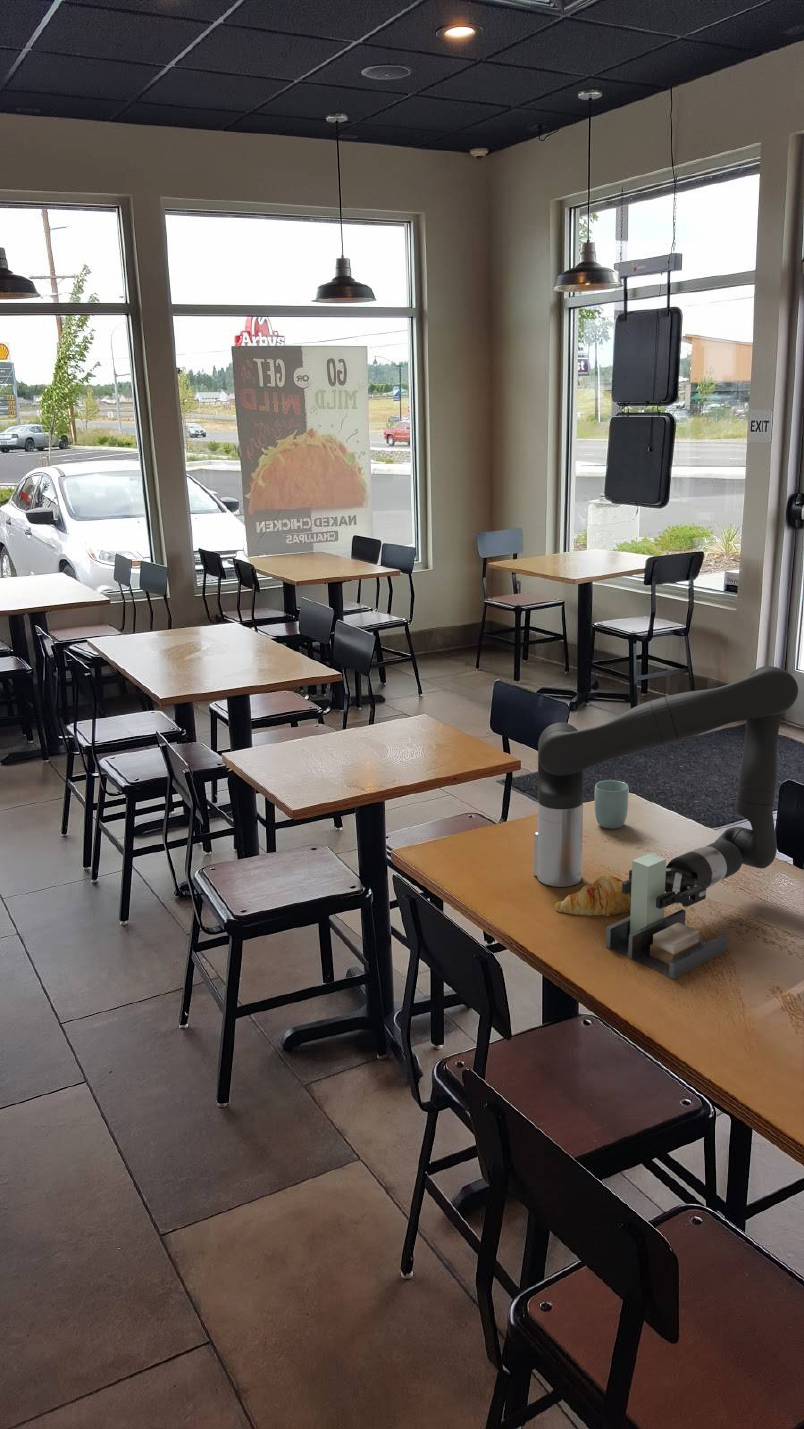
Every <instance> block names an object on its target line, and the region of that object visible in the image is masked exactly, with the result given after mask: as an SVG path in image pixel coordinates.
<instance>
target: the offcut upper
mask: <svg viewBox="0 0 804 1429" xmlns="http://www.w3.org/2000/svg"><path fill="white" fill-rule="evenodd" d="M699 939H700V931H699V930H697V929H694V928H692V927H690V926H687V925H686V924H685V925H683V924H681V923H676V924H674V925H672V926H670V927H668V928H666V929H664V930H662V931H660V932H658V933H656V934H654V935H653V945H655V946H657V947H659V948H661V949H663V950H666V951H668V952H670V953H672V954H675V953H677V952H679V951H681V950H683V949H685V948H687V947H689V946H691V945H693V944H695V943H697V942H699Z"/></svg>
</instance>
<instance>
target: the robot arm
mask: <svg viewBox="0 0 804 1429" xmlns="http://www.w3.org/2000/svg"><path fill="white" fill-rule="evenodd" d="M798 695H799V685H798V683H797V680H796V679H795V677H794V676H793V675H792V674H791V673H789V672H788V671H786V670H785V669H783V668H781V667H777V666H772V665H764V666H761V667H758V668H756V669H755V670H753V671H752V672H751V673H750V674H749V675H748V676H747V677H744V678H742V679H740V680H737V681H734V682H731V683H728V684H726V685H723V686H719V687H714V688H708V689H700V690H691V691H684V692H681V693H680V692H679V693H675V694H671V695H665V696H662V697H659V698H656V699H652V700H649V701H646V702H643V703H640V704H637V705H636V706H634V707H632V708H630V709H628V710H626V711H625V712H623V713H621V714H619V715H618V716H616V717H615V718H613V719H611V720H609V721H607V722H605V723H603V724H600V725H597V726H593V727H589V728H584V729H580V730H578V729H577V728H576V727H575V726H574V725H572V724H570V723H567V722H555V723H552V724H550V725H548V726H547V727H545V728H544V729H543V730H542V732H541V734H540V736H539V739H538V743H537V746H538V747H537V748H538V749H537V769H538V770H537V832H535V833H534V834H533V876H535V877H537V879H538V881H539V882H541V883H542V884H544V885H547V886H549V887H550V886H551V887H556V888H557V887H558V888H564V887H565V888H566V887H572V886H575V885H576V884H579V883H580V882H581V880H582V869H583V868H582V866H583V864H582V862H583V828H584V827H583V824H584V822H583V820H584V819H583V818H584V816H583V815H584V812H583V811H584V770H586V769H588V768H591V767H595V766H596V765H598V764H601V763H604V762H607V761H609V760H612V759H616V758H619V757H623V756H628V755H633V754H635V753H638V752H643V751H647V750H651V749H654V748H655V749H656V748H659V747H663V746H666V745H671V744H673V743H677V742H680V741H683V740H687V739H690V738H693V737H696V736H699V735H701V734H705V733H708V732H709V731H713V730H715V729H717V728H720V727H723V726H725V725H729V724H732V723H736V722H740V721H741V722H742V721H745V735H744V736H745V737H744V745H743V753H742V758H741V763H740V764H741V766H740V771H739V778H738V785H737V790H736V791H737V792H736V799H735V812H736V814H738V815H739V816H741V817H742V818H744V819H746V820H747V821H749V823H750V826H751V828H746V827H742V826H734V827H729V828H727V829H726V830H724V831H723V833H721V835H719V837H718V838H716V840H715V841H714V842H711V843H710V844H708V845H705V846H702V847H698V848H695V849H693V850H690V851H688V852H685V853H684V854H681V855H678V856H676V857H674V858H672V859H671V860H670V861H669V862H668V864H666V876H665V893H664V894H662V895H660V896H658V897H657V898H656V908H659V909H661V908H664V909H665V908H667V907H669V906H671V905H679V904H681V906H682V907H685V908H688V907H690V906H693V905H694V904H697V903H699V902H702V901H703V900H705V899H707V889H708V888H711V887H713V886H715V885H717V884H718V883H719V882H720V881H722V880H724V879H727V878H729V877H731V876H734V874H736V873H737V872H738V871H740V869H741V867H742V865H745V866H749V867H752V868H754V869H766V868H767V867H768V868H769V866H770V865H772V863H773V862H774V860H775V858H776V855H777V851H778V850H777V849H778V844H777V835H776V831H775V830H776V829H775V819H774V811H773V810H774V803H775V802H774V801H775V795H776V787H777V777H778V776H777V775H778V773H777V772H778V771H777V770H778V758H777V757H778V755H777V753H778V741H779V740H778V737H779V731H780V725H781V721H782V718H783V714H784V712H786V711H788V710H789V709H790V708H791V707H792V706H793V705H794V704H795V702H796V700H797V699H798ZM631 885H632V869H630V870H628V879H627V880H624V882H623V883H622V893H624V894H628V893H631Z"/></svg>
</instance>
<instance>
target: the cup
mask: <svg viewBox="0 0 804 1429" xmlns="http://www.w3.org/2000/svg"><path fill="white" fill-rule="evenodd" d="M629 790H630V789H629V784H627V783H626V782H624V781H621V780H613V779H612V780H611V779H608V780H600V781H598V782H596V783H595V786H594V815H595V820H596V822H597V823H598V825H599V826H600V827H602V828H604V829H609V830H610V829H619V828H621V827H622V826H623V825H625V823H626V820H627V818H628V812H629V795H630V794H629V793H630V792H629Z"/></svg>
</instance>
